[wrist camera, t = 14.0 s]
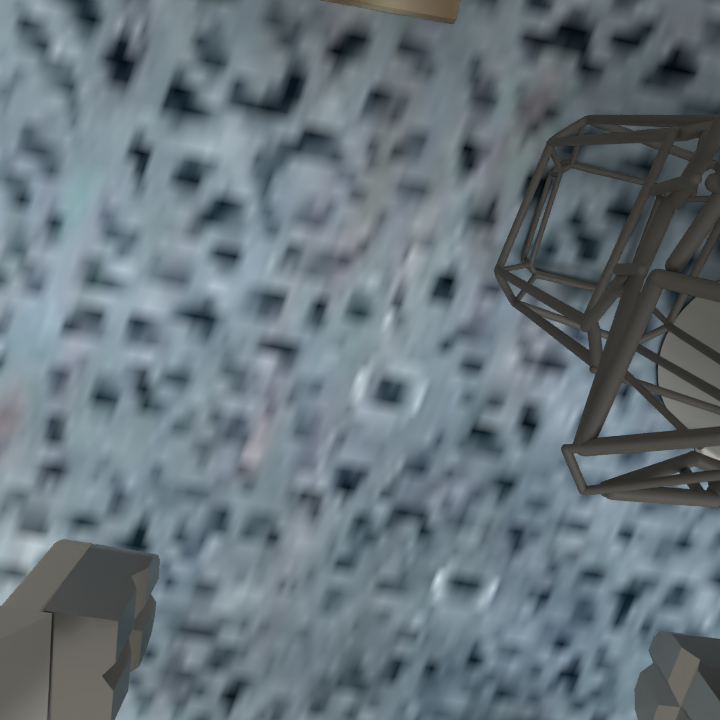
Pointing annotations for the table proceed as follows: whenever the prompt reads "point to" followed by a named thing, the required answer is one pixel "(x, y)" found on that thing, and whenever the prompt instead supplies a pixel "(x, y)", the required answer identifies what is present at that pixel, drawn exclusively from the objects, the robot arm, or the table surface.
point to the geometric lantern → (634, 304)
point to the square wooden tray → (411, 8)
